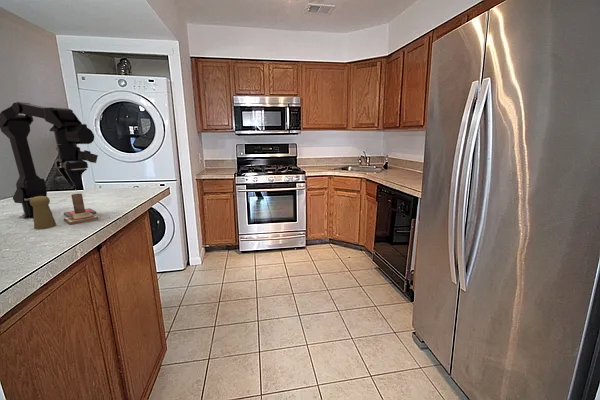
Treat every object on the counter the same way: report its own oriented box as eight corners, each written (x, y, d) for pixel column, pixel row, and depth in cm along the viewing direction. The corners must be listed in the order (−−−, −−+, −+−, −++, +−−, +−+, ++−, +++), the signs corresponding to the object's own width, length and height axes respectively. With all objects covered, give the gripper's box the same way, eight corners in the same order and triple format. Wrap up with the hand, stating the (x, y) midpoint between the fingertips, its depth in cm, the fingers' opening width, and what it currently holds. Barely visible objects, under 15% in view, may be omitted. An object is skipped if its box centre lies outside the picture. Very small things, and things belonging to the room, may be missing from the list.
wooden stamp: (71, 217, 109) (66, 194, 107) (87, 214, 113) (82, 192, 111) (74, 220, 106) (70, 196, 104) (90, 217, 110) (86, 194, 108)
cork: (43, 229, 99) (36, 198, 96) (29, 228, 100) (22, 198, 98) (60, 224, 105) (54, 195, 102) (47, 223, 106) (41, 194, 103)
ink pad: (64, 214, 118) (63, 212, 117) (90, 210, 124) (89, 207, 124) (69, 218, 112) (68, 215, 112) (96, 213, 118) (96, 211, 118)
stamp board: (63, 220, 109) (63, 217, 109) (91, 215, 116) (91, 212, 116) (69, 225, 104) (69, 222, 103) (98, 219, 110) (98, 216, 110)
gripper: (100, 143, 103) (108, 186, 107) (86, 143, 115) (93, 181, 119) (61, 144, 95) (71, 191, 99) (50, 144, 107) (59, 185, 111)
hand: (75, 186), depth 107 cm, fingers open, 9 cm apart
